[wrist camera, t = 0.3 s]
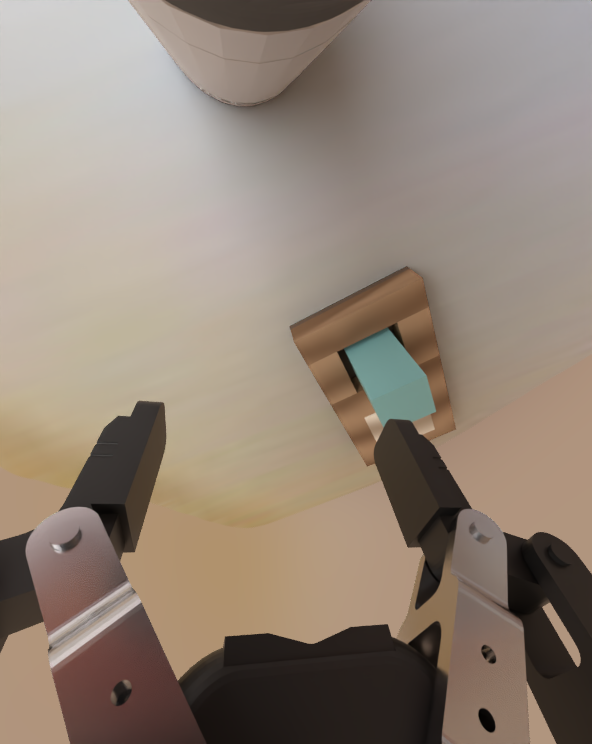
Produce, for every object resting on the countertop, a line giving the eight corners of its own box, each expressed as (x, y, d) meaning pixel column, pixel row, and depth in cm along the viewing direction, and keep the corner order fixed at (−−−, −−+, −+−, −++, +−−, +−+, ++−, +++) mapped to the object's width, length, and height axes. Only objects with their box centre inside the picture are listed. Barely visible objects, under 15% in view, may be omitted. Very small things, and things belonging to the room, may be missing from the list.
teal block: (340, 341, 31) (371, 400, 24) (381, 320, 30) (426, 375, 23) (354, 371, 34) (386, 433, 27) (393, 353, 33) (436, 411, 26)
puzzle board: (289, 326, 30) (294, 343, 27) (406, 266, 28) (423, 278, 26) (360, 448, 43) (367, 467, 40) (443, 412, 41) (456, 430, 39)
